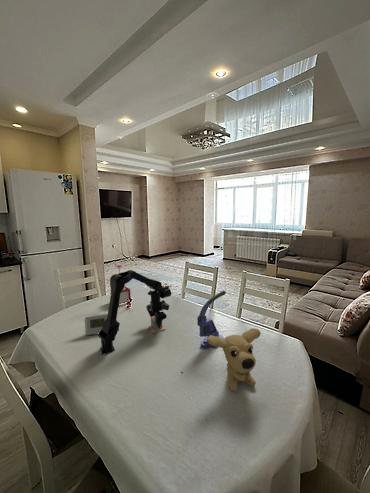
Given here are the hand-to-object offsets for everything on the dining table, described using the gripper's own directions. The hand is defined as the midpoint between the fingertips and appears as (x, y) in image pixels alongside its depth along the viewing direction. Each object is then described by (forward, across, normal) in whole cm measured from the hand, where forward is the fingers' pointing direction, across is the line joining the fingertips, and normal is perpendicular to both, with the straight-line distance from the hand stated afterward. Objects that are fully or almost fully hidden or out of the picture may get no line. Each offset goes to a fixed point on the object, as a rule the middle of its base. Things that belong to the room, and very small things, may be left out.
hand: (156, 324), depth 144 cm
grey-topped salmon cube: (+2, 0, 0) cm, 2 cm away
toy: (+3, -59, -13) cm, 61 cm away
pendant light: (+3, +54, +9) cm, 55 cm away
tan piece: (+3, 0, 0) cm, 3 cm away
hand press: (+3, -30, -21) cm, 37 cm away
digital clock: (+3, +14, +31) cm, 34 cm away
